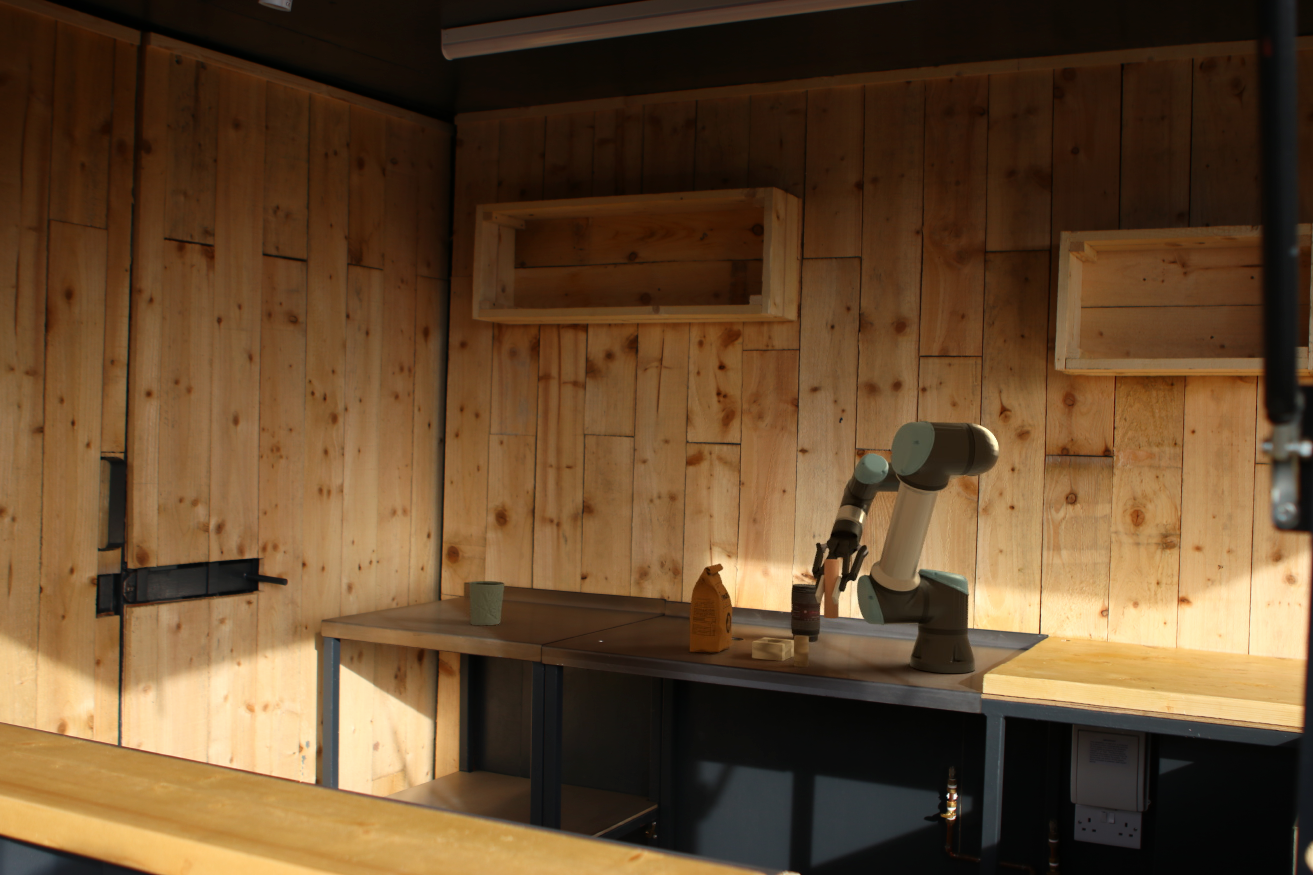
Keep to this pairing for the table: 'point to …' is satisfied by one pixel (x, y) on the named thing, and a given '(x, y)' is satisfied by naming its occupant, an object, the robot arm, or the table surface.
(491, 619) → the green plant pot
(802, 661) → the short dowel
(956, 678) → the table surface
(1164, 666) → the table surface
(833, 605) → the long dowel
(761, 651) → the collar block
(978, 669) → the table surface
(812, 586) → the camera lens
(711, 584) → the coffee package
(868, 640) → the table surface
